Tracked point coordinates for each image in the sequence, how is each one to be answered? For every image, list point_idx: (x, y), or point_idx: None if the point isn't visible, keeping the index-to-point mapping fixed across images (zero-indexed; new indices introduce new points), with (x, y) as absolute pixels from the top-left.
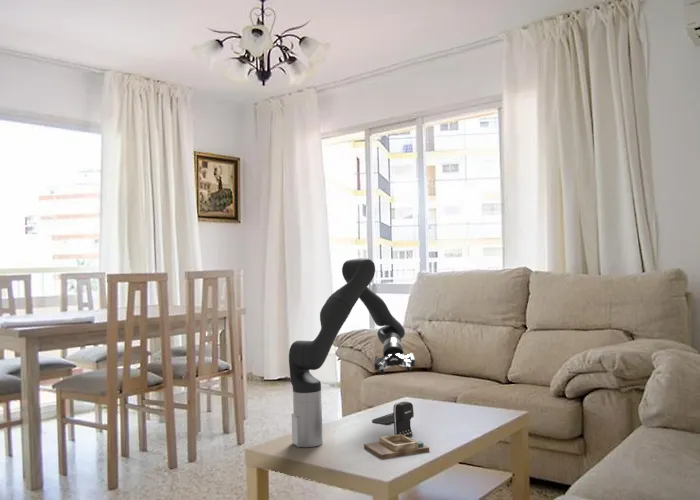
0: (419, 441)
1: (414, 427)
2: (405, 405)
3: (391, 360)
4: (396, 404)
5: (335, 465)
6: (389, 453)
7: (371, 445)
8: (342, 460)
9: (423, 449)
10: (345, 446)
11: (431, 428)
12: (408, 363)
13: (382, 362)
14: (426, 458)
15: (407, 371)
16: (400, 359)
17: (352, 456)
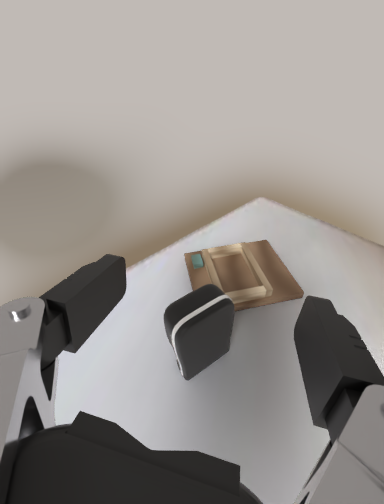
0: (194, 263)
1: None
2: (196, 289)
3: (205, 463)
4: (224, 294)
5: (335, 235)
6: (253, 242)
7: (286, 281)
8: (330, 249)
9: (195, 253)
10: (349, 316)
11: None
12: (54, 299)
13: (382, 435)
14: (200, 237)
15: (123, 285)
16: (27, 436)
17: (316, 261)
